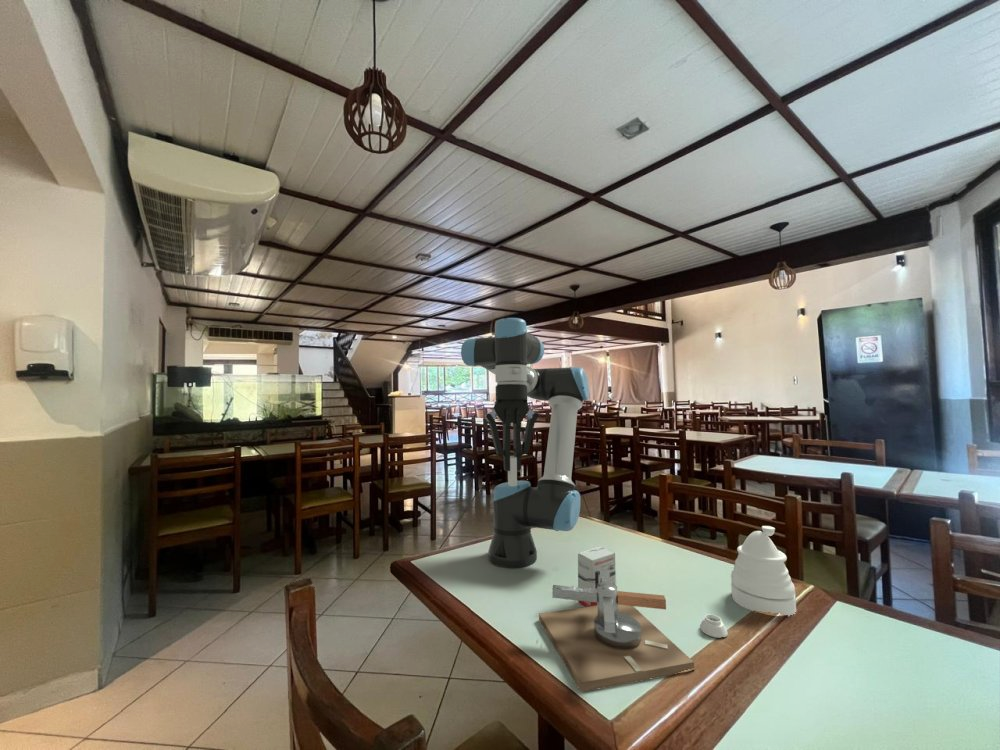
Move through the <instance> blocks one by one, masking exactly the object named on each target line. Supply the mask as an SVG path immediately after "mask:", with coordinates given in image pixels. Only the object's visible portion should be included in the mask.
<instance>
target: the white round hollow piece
mask: <svg viewBox="0 0 1000 750" xmlns="http://www.w3.org/2000/svg"><path fill="white" fill-rule="evenodd" d="M699 628H700V629H699V630H700V631H701V632H703V633H704V634H706V636H709V637H712V638H717V639H721V637H724V638H726V637H728V630H727V627H726V626H725V624H724V622H723V620H722V618H721V617H720V616H718V615H715V614H710V613H707V614H705V615H704V618H703V619H702V620H701V623H700V624H699Z"/></svg>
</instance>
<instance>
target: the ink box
mask: <svg viewBox="0 0 1000 750" xmlns="http://www.w3.org/2000/svg"><path fill="white" fill-rule="evenodd" d="M601 569H608V570H609V573H610V582H611V583H613V584H615V585H616V584H617V582H616V581H617V579H616V577H617V576H616V575H617V573H616V552H614V551H612V550H610V549H607V548H604V546H600V545H599V546H596V547H592V548H590V549H586V550H583V551H581V552H578V553H577V587H581V588H592V589H597V584H598V583H600V582H602V581H601ZM616 586H617V585H616ZM577 601H578V604H580V605H582V606H583V607H590V606H597V602H588V601H579V600H577Z"/></svg>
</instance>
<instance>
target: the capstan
mask: <svg viewBox="0 0 1000 750" xmlns="http://www.w3.org/2000/svg"><path fill="white" fill-rule="evenodd" d="M601 581H602V582H600V583H598V584H597V589H592V588H581V587H578V586H572V585H571V586H569V585H568V586H567V585H559V584H553V585H552V590H551V591H552V598H553V599H560V600H570V601H578V600H579V601H588V602H597V611H598V615H597V616H596V617H595V619H594V631H595V635H596V637H597V638H598V639H599V640H600V641H601V642H603V643H605V644H607V645H609V646H612V647H616V648H632V647H635V646H637V645H638V644H639V643H640V642H641V626H640V624H639V622H638V621H637V620H636V619H634V618H633V617H631V616H629V615H626V614H623V613H619V612H618V605H627V606H634V607H637V608H650V609H657V610H658V609H659V610H667V601H666V597H665V595H663V594H653V593H642V592H641V593H640V592H632V591H623V590H622V591H621V590H618V586H617V585H615V584H613V583H611V582H610V573H609V570H608V569H601Z"/></svg>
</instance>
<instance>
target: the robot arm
mask: <svg viewBox="0 0 1000 750" xmlns="http://www.w3.org/2000/svg"><path fill="white" fill-rule="evenodd" d="M494 326H495V328H494V329H495V330H494V334H493V335H494V336H489V337H479V338H478V337H475V338H470V339H466V340H465V341H463V343H462V344H461V347H460V348H461V349H460V356H461V357H460V358H461V359H462V362H463V364H464V365H466V366H468V367H469V366H470V367H479V366H480V367H481V368H484V369H485V370H487V371H488V372H490V373H491V374H494V376H495V383H497V384H496V385H495V403H494V405H493V409H492V410H490V411H489V412H488V413H485V414H484V419H485V420H486V422H488V425H489V430H490V434H491V438H492V442H493V447H494V449H495V453H496V454H498V455H499V456H502V457H503V469H504V471H505V472H507V482H502V483H500V484H497V485H496V486H495V487H494V489H493V496H492V497H493V498H492V501H493V534H492V538H491V542H490V544H489V548H488V555H487V556H488V561H489V562H490V563H492V564H493V565H495V566H499V567H503V568H510V569H511V568H512V569H513V568H517V569H518V568H523V567H528V566H531V565H533V564H534V563H536V562H537V559H538V554H537V553H538V550H537V547H536V545H535V542H534V538H533V535H532V529H531V528H536V529H546V530H552V531H554V532H555V531H556V532H559V531H560V532H561V531H562V532H570V531H572V530H573V529H574V528H575V526H576V525H577V523H578V519H579V517H580V512H581V506H582V505H581V499H582V498H581V493H580V492H579V491H578V490H576V489H577V488H576V484H575V483H574V482H573V481H572V473H573V463H574V454H575V453H574V452H575V442H576V431H577V430H576V429H577V420H578V419H577V418H578V411H579V410H580V409H581V408H582V407H583V405H584V403H583V402H586V401H588V400H589V398H590V390H589V388H590V387H589V382H588V377H587V374H586V372H585V370H584V369H583V368H582V367H580V366H579V367H578V366H573V367H572V366H570V367H552V368H551V367H549V368H533V367H530V366H529V365H532V364H533V365H534V364H537V363H538V362H540V361H541V360H542V358H543V357H544V354H545V346H544V343H543V342H542V341H541V340H540V339H539V338H538V337H537V336H535V335H532V334H529V333H527V332H528V328H527V322H526V320H524V319H523V318H519V317H506V318H501V319H499V320H497V321H496V322H495V324H494ZM528 398H531V399H532V400H533V399H534V400H536V401H544V402H545V401H546V402H547V403H548V405H549V406H550V407H551V413H550V423H549V431H548V437H547V438H548V439H547V447H546V453H545V461H544V462H545V463H544V470H543V471H544V472H543V475H542V477H540V478H539V479H538V480H537V486H535V487H534V486H531V485H532V484H531V481H529V480H518V471H521V470H522V465H521V464H522V457H523V455H527V454H528V453H529V451H530V448H531V447H530V446H531V442H532V439H533V438H532V437H533V432H534V427H535V423H536V421H537V420H538V418H539V415H540V414H539V413H538V412H534V411H533V410H532V409H531V408H530V405H529V402H528ZM496 415H497V416H496ZM497 417H498V419H500V421H501V422H502V443H501V438H500V433H499V429H498V425H497V422H496V419H497ZM525 417H526V418H527V419H526V420H527V421H526V425H525V430H524V433H523V438H522V422H523V421H524V419H525ZM511 425H512V429H513V437H512V438H513V439H512V440H513V455H511Z"/></svg>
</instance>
